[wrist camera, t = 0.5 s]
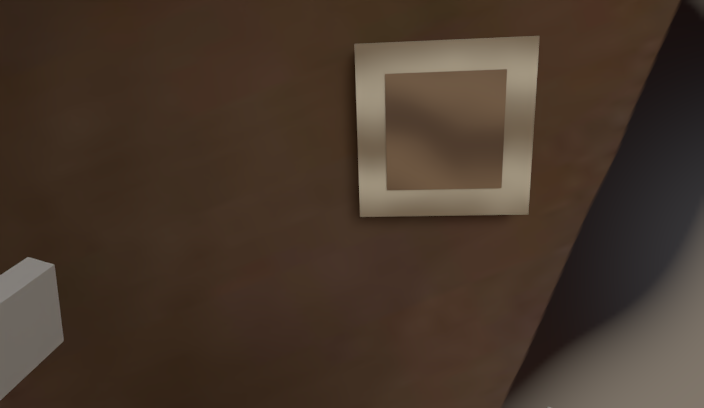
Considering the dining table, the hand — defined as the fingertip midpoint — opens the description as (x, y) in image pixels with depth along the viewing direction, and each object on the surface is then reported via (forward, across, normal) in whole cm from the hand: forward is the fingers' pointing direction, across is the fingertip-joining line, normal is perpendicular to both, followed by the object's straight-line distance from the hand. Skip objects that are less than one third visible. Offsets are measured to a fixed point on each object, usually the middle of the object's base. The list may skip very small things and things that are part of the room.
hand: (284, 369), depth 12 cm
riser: (+26, +4, 0) cm, 27 cm away
